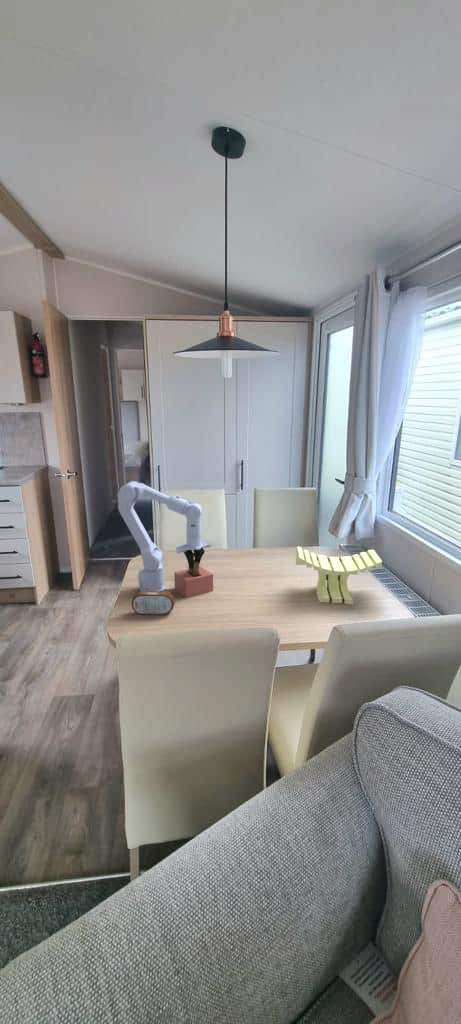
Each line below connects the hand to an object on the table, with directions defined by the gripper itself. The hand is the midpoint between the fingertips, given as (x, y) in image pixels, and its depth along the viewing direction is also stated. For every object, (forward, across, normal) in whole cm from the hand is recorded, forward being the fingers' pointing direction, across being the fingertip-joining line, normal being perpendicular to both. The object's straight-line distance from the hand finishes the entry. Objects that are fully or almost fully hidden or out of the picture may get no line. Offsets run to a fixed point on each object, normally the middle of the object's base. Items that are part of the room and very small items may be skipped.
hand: (193, 567), depth 171 cm
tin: (+10, -22, -10) cm, 26 cm away
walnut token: (+3, 0, 0) cm, 3 cm away
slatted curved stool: (+10, +46, -32) cm, 57 cm away
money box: (+10, 0, +1) cm, 10 cm away
